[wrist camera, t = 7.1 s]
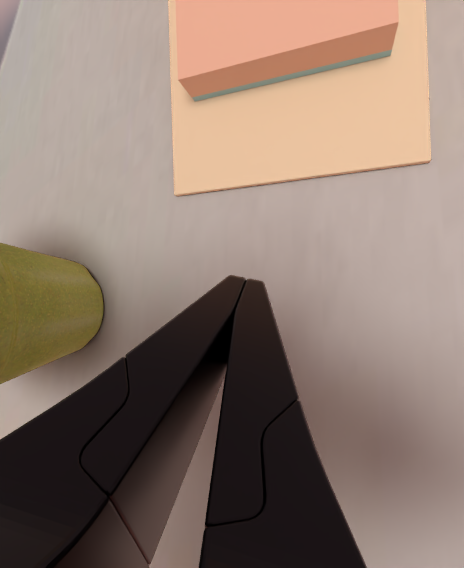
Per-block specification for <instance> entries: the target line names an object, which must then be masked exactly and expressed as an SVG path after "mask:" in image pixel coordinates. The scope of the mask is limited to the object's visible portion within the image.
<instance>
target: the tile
mask: <svg viewBox="0 0 464 568" xmlns="http://www.w3.org/2000/svg"><path fill="white" fill-rule="evenodd" d="M175 2H176V34H177V66H178V81H179V82H180V83H181V84H182V86H183V87H184V88H185V90H186V91H187V92H188V93H189V95H190V96H191V97H192V99H193V100H194V101H199V100H203V99H208V98H212V97H216V96H220V95H225V94H229V93H233V92H237V91H242V90H246V89H250V88H255V87H259V86H263V85H267V84H272V83H276V82H280V81H284V80H289V79H293V78H297V77H301V76H306V75H310V74H314V73H318V72H323V71H327V70H331V69H336V68H340V67H344V66H348V65H353V64H357V63H361V62H365V61H370V60H374V59H378V58H382V57H387V56H391V52H392V48H393V44H394V39H395V35H396V31H397V27H398V23H399V13H398V0H175Z"/></svg>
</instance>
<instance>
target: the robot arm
mask: <svg viewBox="0 0 464 568" xmlns="http://www.w3.org/2000/svg"><path fill="white" fill-rule="evenodd" d="M225 373H226V374H225ZM224 375H225V382H224V389H223V396H222V403H221V411H220V418H219V425H218V432H217V440H216V447H215V454H214V461H213V469H212V476H211V483H210V490H209V498H208V505H207V512H206V519H205V530H204V534H203V541H202V548H201V555H200V562H199V568H367V567H366V564H365V562H364V560H363V558H362V555H361V553H360V551H359V548H358V546H357V544H356V542H355V539H354V537H353V535H352V532H351V530H350V528H349V526H348V523H347V521H346V519H345V516H344V514H343V512H342V510H341V507H340V505H339V503H338V500H337V498H336V496H335V493H334V491H333V489H332V487H331V484H330V482H329V480H328V477H327V475H326V472H325V470H324V467H323V465H322V462H321V460H320V457H319V455H318V452H317V450H316V447H315V444H314V441H313V439H312V436H311V433H310V430H309V427H308V424H307V421H306V418H305V415H304V411H303V408H302V405H301V402H300V401H299V396H298V392H297V389H296V386H295V382H294V379H293V376H292V373H291V369H290V366H289V363H288V360H287V356H286V353H285V350H284V346H283V343H282V340H281V337H280V333H279V330H278V327H277V324H276V320H275V317H274V314H273V310H272V307H271V304H270V301H269V297H268V294H267V291H266V287H265V284H264V282H263V281H259V280H254V279H247V280H246V279H245V278H244V277H239V276H234V275H230V276H228V277H227V278H225V279H224V280H223V281H221V282H220V283H219V284H217V285H216V286H215V287H214V288H212V289H211V290H210V291H208V292H207V293H206V294H204V295H203V296H202V297H201V298H199V299H198V300H197V301H195V302H194V303H193V304H191V305H190V306H189V307H188V308H186V309H185V310H184V311H182V312H181V313H180V314H178V315H177V316H176V317H174V318H173V319H172V320H171V321H169V322H168V323H167V324H165V325H164V326H163V327H161V328H160V329H159V330H158V331H156V332H155V333H154V334H152V335H151V336H150V337H148V338H147V339H146V340H145V341H143V342H142V343H141V344H139V345H138V346H137V347H135V348H134V349H133V350H132V351H130V352H129V353H128V354H126V358H125V357H122V358H121V359H120V360H118V361H117V362H116V363H114V364H113V365H112V366H110V367H109V368H108V369H106V370H105V371H104V372H102V373H101V374H100V375H98V376H97V377H95V378H94V379H93V380H91V381H90V382H89V383H87V384H86V385H84V386H83V387H82V388H80V389H79V390H77V391H75V392H74V393H72V394H71V395H69V396H68V397H66V398H65V399H63V400H62V401H60V402H59V403H57V404H56V405H54V406H53V407H51V408H50V409H48V410H46V411H45V412H43V413H42V414H40V415H39V416H37V417H35V418H34V419H32V420H31V421H29V422H27V423H26V424H24V425H23V426H21V427H20V428H18V429H16V430H15V431H13V432H12V433H10V434H8V435H7V436H5V437H4V438H2V439H1V440H0V568H149V565H148V564H150V563H151V561H152V558H153V556H154V553H155V551H156V548H157V546H158V543H159V541H160V538H161V536H162V533H163V530H164V528H165V525H166V523H167V520H168V518H169V515H170V513H171V510H172V508H173V505H174V503H175V500H176V497H177V495H178V492H179V490H180V487H181V485H182V482H183V480H184V477H185V475H186V472H187V469H188V467H189V464H190V462H191V459H192V457H193V454H194V452H195V449H196V447H197V444H198V442H199V439H200V436H201V434H202V431H203V429H204V426H205V424H206V421H207V419H208V416H209V414H210V411H211V408H212V406H213V403H214V401H215V398H216V396H217V393H218V391H219V388H220V386H221V383H222V380H223V378H224Z"/></svg>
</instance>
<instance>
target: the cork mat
mask: <svg viewBox="0 0 464 568" xmlns="http://www.w3.org/2000/svg"><path fill="white" fill-rule="evenodd" d="M168 8H169V40H170V72H171V104H172V135H173V167H174V195H175V196H182V195H190V194H197V193H205V192H212V191H220V190H227V189H235V188H242V187H250V186H258V185H265V184H273V183H280V182H288V181H295V180H303V179H310V178H318V177H325V176H333V175H340V174H348V173H355V172H363V171H370V170H378V169H385V168H393V167H400V166H408V165H415V164H423V163H429V162H430V161H431V145H430V116H429V87H428V57H427V28H426V0H398V13H399V23H398V27H397V31H396V35H395V39H394V44H393V48H392V52H391V56H387V57H382V58H378V59H374V60H370V61H365V62H361V63H357V64H353V65H348V66H344V67H340V68H336V69H331V70H327V71H323V72H318V73H314V74H310V75H306V76H301V77H297V78H293V79H289V80H284V81H280V82H276V83H272V84H267V85H263V86H259V87H255V88H250V89H246V90H242V91H237V92H233V93H229V94H225V95H220V96H216V97H212V98H208V99H203V100H199V101H194V100H193V99H192V97H191V96H190V95H189V93H188V92H187V91H186V90H185V88H184V87H183V86H182V84H181V83H180V82H179V81H178V66H177V34H176V2H175V0H168Z"/></svg>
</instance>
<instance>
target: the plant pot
mask: <svg viewBox="0 0 464 568" xmlns="http://www.w3.org/2000/svg"><path fill="white" fill-rule="evenodd" d="M102 317H103V298H102V293H101V290H100V287H99V285H98V284H97V283H96V281H95V280H94V279H93V278H92V277H91V275H90V274H89V272H88V271H87V268H85V267H84V266H82V265H81V264H79V263H76V262H73V261H69V260H65V259H62V258H58V257H53V256H49V255H45V254H41V253H37V252H33V251H29V250H26V249H22V248H18V247H14V246H11V245H7V244H3V243H0V384H1V383H4V382H6V381H8V380H11V379H13V378H15V377H18V376H20V375H22V374H24V373H27V372H29V371H31V370H34V369H36V368H38V367H40V366H43V365H45V364H47V363H50V362H52V361H54V360H56V359H59V358H61V357H63V356H66V355H68V354H71V353H73V352H75V351H77V350H80V349H82V348H83V347H84V346H85V345H86V344H87V343H88V342H89V341H90V340H91V339H92V338H93V337H94V336H95V334H96V333H97V332H98V330H99V327H100V325H101V321H102Z"/></svg>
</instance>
